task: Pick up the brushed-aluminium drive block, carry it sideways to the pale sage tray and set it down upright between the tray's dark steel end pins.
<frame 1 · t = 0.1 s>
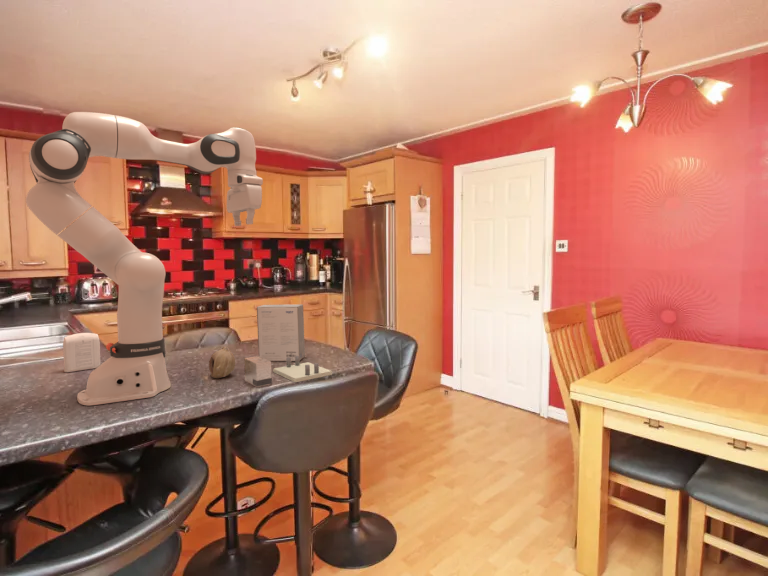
hand: (243, 225, 139), 48 cm above the table, fingers open, 8 cm apart
hard drive box: (282, 359, 159), on the table
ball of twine: (222, 377, 137), on the table
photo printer: (83, 370, 146), on the table
drive block: (257, 382, 130), on the table
pin tray: (302, 373, 139), on the table
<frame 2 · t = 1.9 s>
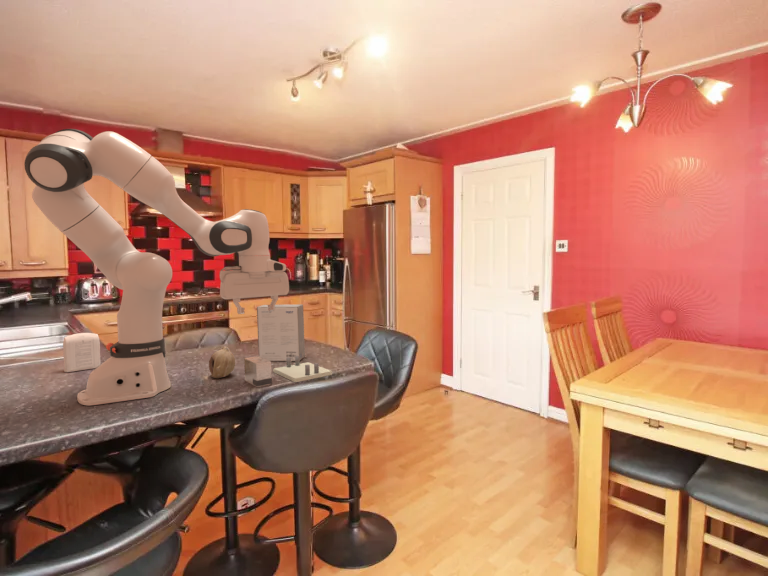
hand: (256, 312, 128), 21 cm above the table, fingers open, 8 cm apart
nothing on the table moved.
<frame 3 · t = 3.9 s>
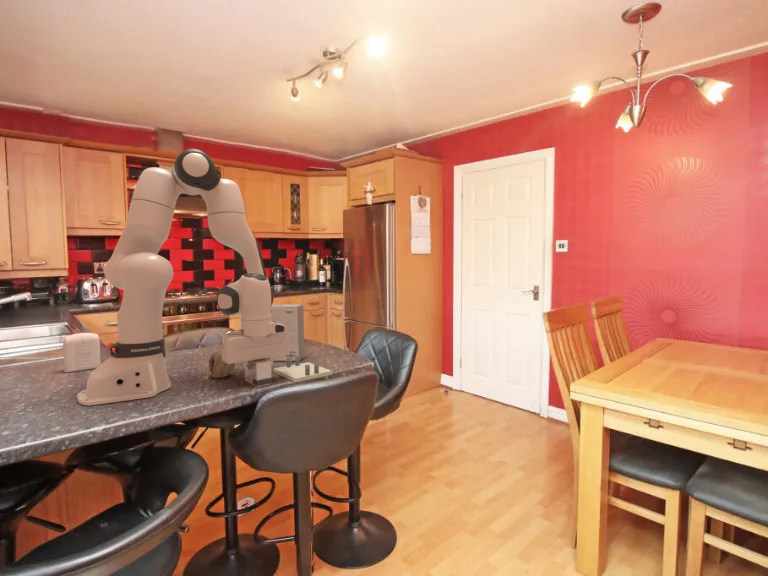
hand: (257, 373, 130), 3 cm above the table, fingers closed on drive block, 4 cm apart
drive block: (258, 382, 130), on the table, touching gripper
everything else where it was.
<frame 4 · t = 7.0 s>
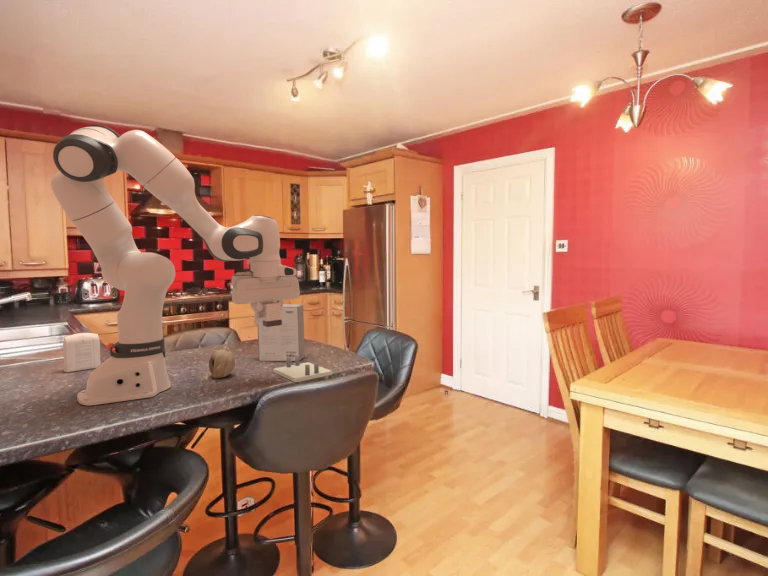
hand: (267, 316, 130), 20 cm above the table, fingers closed on drive block, 4 cm apart
drive block: (268, 325, 130), point 17 cm above the table, touching gripper
everything else where it was.
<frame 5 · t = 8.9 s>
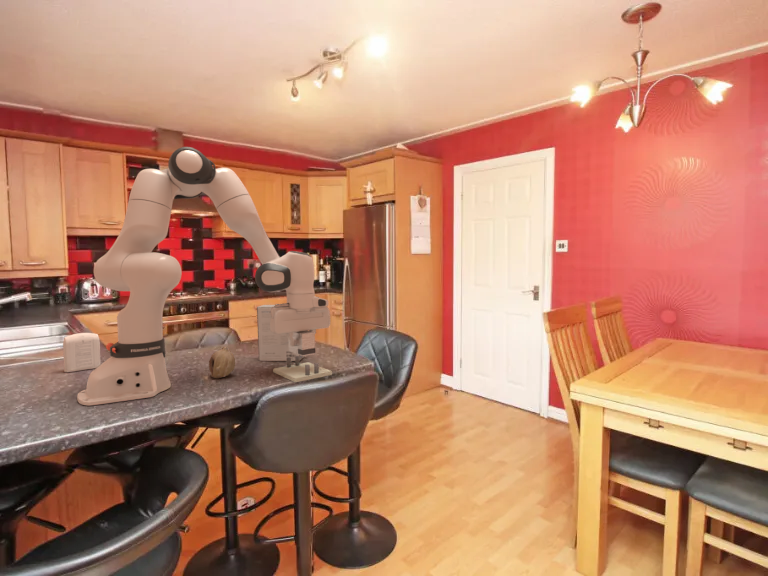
hand: (301, 344, 139), 9 cm above the table, fingers closed on drive block, 4 cm apart
drive block: (301, 352, 139), point 7 cm above the table, touching gripper
everything else where it was.
when the fingers open (5 cm above the table, at t = 10.2 s): drive block drops 1 cm, resting on pin tray.
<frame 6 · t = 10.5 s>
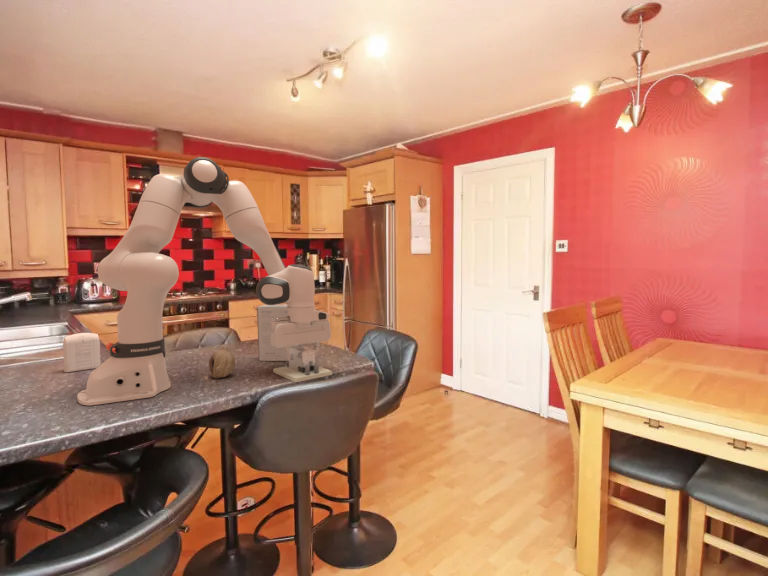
hand: (301, 357, 139), 5 cm above the table, fingers open, 7 cm apart
drive block: (301, 369, 139), point 1 cm above the table, touching pin tray
everything else where it was.
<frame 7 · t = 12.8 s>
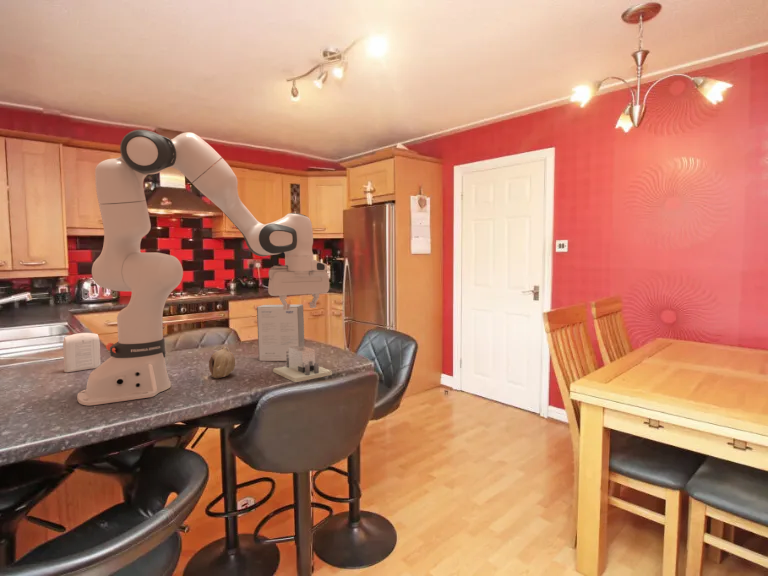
hand: (300, 308, 138), 21 cm above the table, fingers open, 8 cm apart
nothing on the table moved.
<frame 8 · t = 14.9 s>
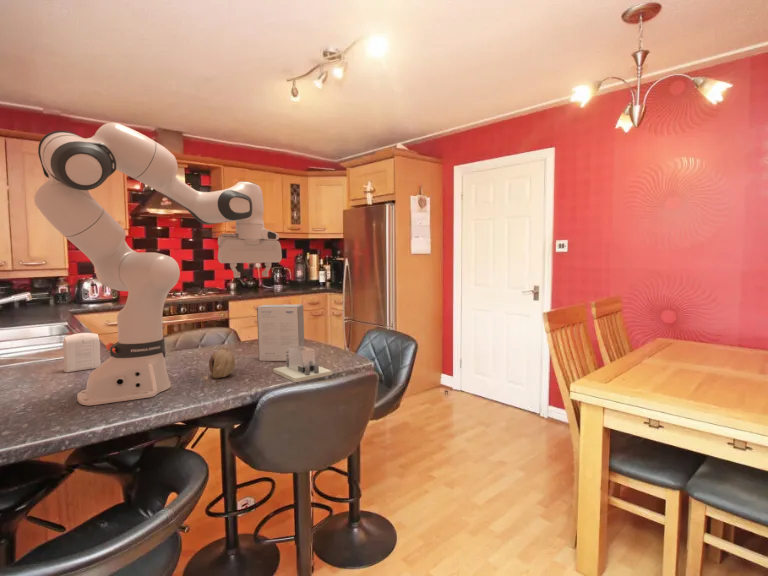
hand: (251, 277, 140), 31 cm above the table, fingers open, 8 cm apart
nothing on the table moved.
at the end: drive block 0.1 cm off-centre on the pin tray, point 1.2 cm above the pin tray's base; drive block tilted 0°; the gripper is holding nothing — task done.
